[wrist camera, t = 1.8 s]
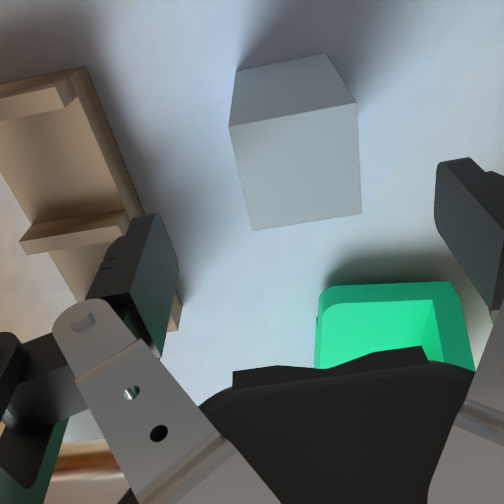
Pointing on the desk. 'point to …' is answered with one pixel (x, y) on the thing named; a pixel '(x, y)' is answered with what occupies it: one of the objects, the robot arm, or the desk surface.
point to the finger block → (295, 142)
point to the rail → (67, 185)
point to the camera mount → (391, 322)
